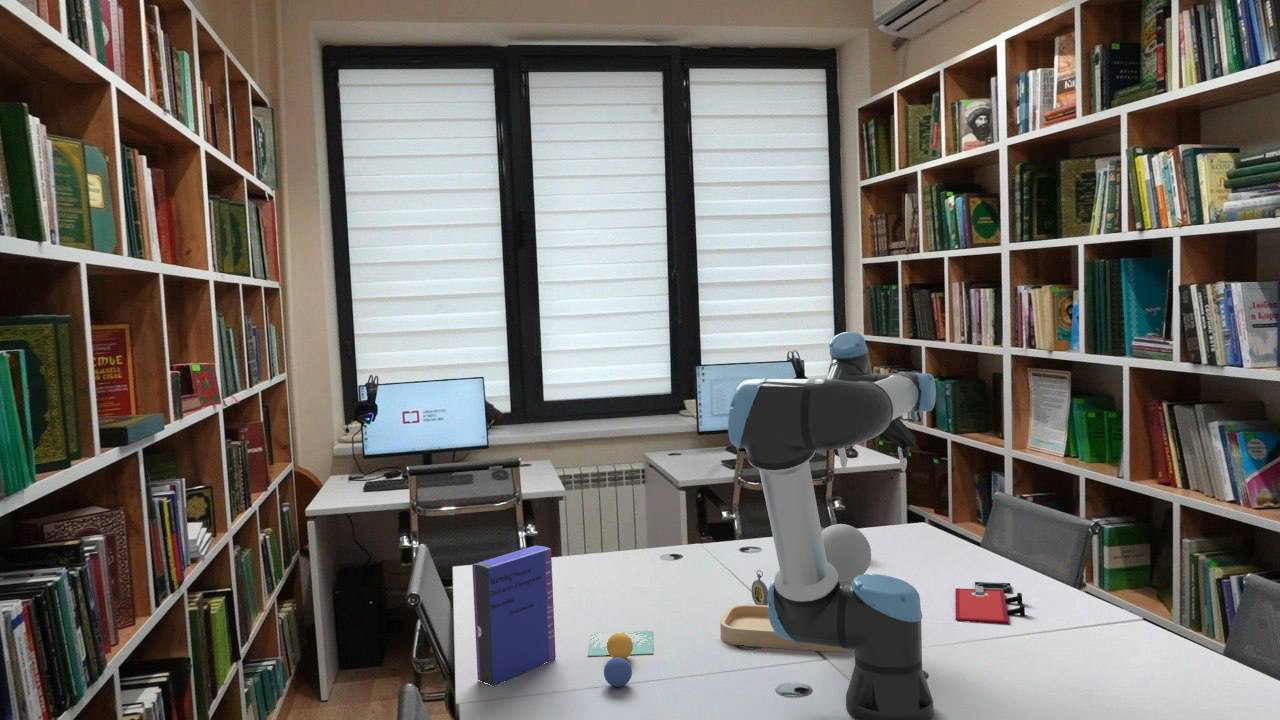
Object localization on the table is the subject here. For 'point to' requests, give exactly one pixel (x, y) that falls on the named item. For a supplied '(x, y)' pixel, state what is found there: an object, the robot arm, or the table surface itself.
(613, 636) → the orange ball
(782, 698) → the table surface
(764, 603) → the pocket watch
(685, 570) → the table surface
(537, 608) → the purple book
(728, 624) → the lamp
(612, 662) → the blue ball
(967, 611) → the red board with handle
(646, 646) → the green mark
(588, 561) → the table surface
